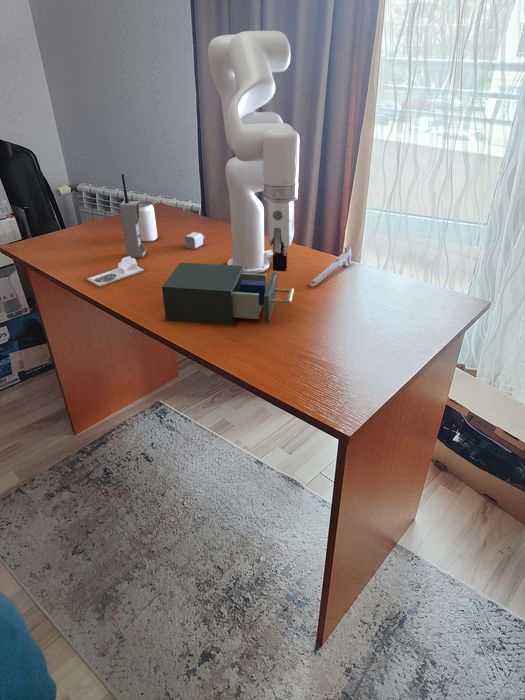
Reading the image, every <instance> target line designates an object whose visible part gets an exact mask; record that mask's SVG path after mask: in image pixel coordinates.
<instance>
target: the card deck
mask: <svg viewBox="0 0 525 700" xmlns="http://www.w3.org/2000/svg"><path fill="white" fill-rule="evenodd" d="M266 288H267V280H266V281H250V280H242V281H241V284H240V291H241V292H243V293H258V294H259V305H263V306H264V294H265V291H266Z"/></svg>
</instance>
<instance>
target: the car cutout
mask: <svg viewBox="0 0 525 700" xmlns="http://www.w3.org/2000/svg"><path fill="white" fill-rule="evenodd" d="M142 272H145V268H142V267H140V266H138V263H137V259H136V258H131V257H130V256H127V255H126V256H124V257H122V258H121V261H119V262H118V264H117V268H114V269H110V270H108V271H105V272H102V273H99V274H97V275H93V276H89V277H88V278H86V281H87V282H90V283H92V284H93V285H95V286H97V287H99V288H101V287H103V286H106V285H109V284H111V283H115V282H117V281H120V280H122V279H125V278H128V277H131V276H134V275H137V274H139V273H142Z"/></svg>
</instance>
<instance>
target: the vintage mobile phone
mask: <svg viewBox="0 0 525 700" xmlns="http://www.w3.org/2000/svg"><path fill="white" fill-rule="evenodd" d="M121 180H122V186H123V195H124V196H123V197H124V200H123V201H122V202H120V204H119V206H118V207H119V214H120V220H121V224H122V225H121V226H122V231H123V237H124V243H125V249H126V251H125V252H126V257H127V256H130V257H131V258H135V259H136V258H138V259H141V258H144V256H145V255H146V251H147V250H146V249H145V247H144V245H143V243H142V241H141V236H140V229H139V222H138V219H139V202H140V201H139V200H129V197H128V192H127V187H126V186H127V185H126V180H125V174H124V173H122V174H121Z"/></svg>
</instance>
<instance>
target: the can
mask: <svg viewBox="0 0 525 700" xmlns="http://www.w3.org/2000/svg"><path fill="white" fill-rule="evenodd" d="M138 222H139V229H140V236H141V242H144V243H145V242H146V243H148V242H154V241H156V240H157V239H158V230H157V221H156V214H155V207H154V205H153V202H151V201H147V200H142V201H139V219H138Z"/></svg>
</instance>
